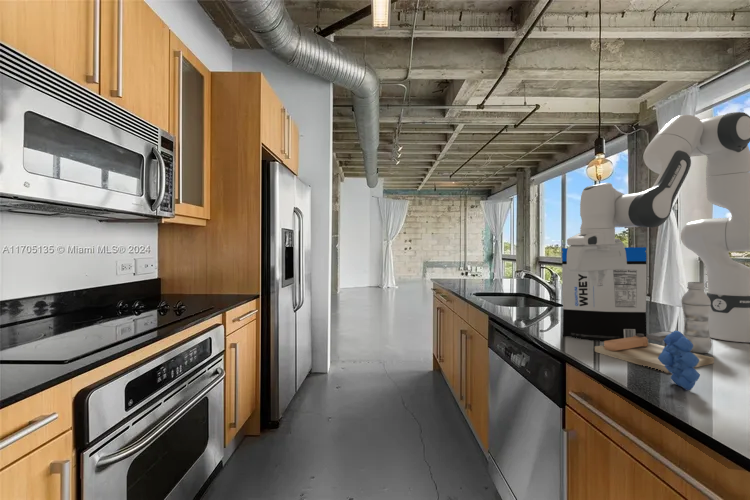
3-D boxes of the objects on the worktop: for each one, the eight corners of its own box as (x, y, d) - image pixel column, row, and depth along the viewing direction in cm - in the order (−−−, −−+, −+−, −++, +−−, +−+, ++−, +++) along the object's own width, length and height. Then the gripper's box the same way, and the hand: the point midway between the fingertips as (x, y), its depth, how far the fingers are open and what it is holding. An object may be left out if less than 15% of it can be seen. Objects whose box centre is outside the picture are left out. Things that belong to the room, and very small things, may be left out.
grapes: (646, 375, 92) (646, 325, 92) (679, 377, 91) (679, 326, 90) (670, 394, 81) (670, 337, 81) (708, 397, 79) (708, 339, 79)
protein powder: (651, 344, 119) (651, 247, 119) (564, 339, 127) (563, 248, 126) (641, 337, 128) (641, 247, 127) (561, 332, 136) (560, 247, 135)
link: (638, 342, 114) (638, 335, 114) (650, 345, 111) (650, 338, 111) (600, 348, 109) (600, 340, 109) (612, 351, 106) (612, 343, 106)
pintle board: (637, 344, 119) (637, 324, 119) (713, 363, 100) (713, 339, 100) (594, 351, 113) (594, 330, 112) (667, 372, 94) (667, 347, 94)
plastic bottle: (717, 356, 106) (717, 283, 106) (689, 355, 108) (689, 283, 107) (702, 349, 113) (702, 281, 112) (676, 348, 114) (676, 281, 114)
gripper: (612, 238, 120) (613, 283, 120) (562, 239, 112) (562, 286, 113) (632, 238, 114) (632, 285, 114) (580, 239, 107) (581, 289, 107)
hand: (597, 286), depth 113 cm, fingers closed
